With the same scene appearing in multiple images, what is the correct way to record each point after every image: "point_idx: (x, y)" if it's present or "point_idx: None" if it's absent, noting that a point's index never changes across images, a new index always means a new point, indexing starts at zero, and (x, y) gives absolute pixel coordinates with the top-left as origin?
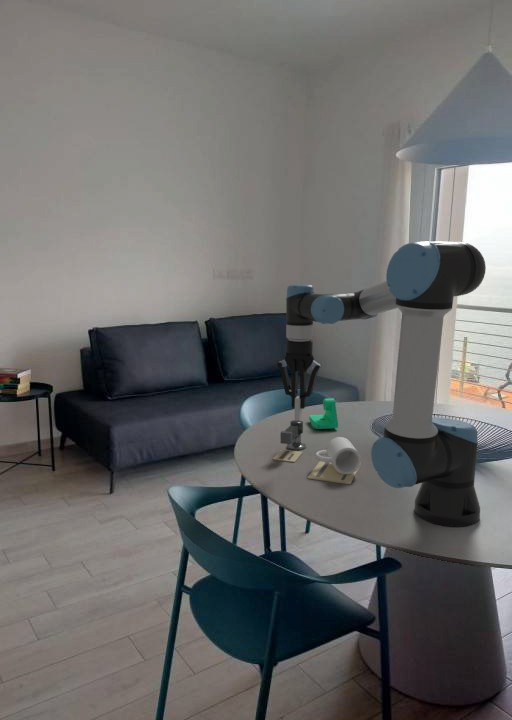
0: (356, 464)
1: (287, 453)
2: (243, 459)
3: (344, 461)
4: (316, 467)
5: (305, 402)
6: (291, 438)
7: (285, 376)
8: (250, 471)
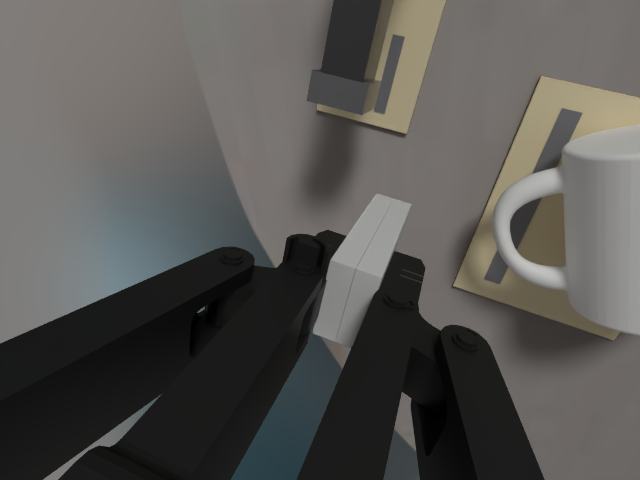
0: None
1: None
2: (217, 117)
3: None
4: (497, 193)
5: (420, 287)
6: (373, 94)
7: (68, 459)
8: (264, 226)
